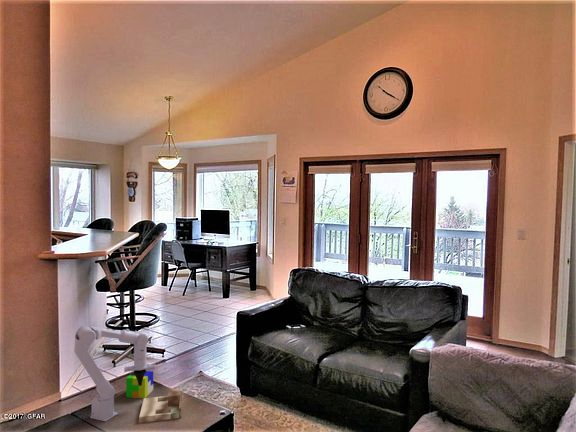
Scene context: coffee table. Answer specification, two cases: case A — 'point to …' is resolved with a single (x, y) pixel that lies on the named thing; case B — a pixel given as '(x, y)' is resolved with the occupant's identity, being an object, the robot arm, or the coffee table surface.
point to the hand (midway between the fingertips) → (140, 384)
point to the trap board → (159, 409)
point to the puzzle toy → (139, 391)
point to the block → (173, 398)
